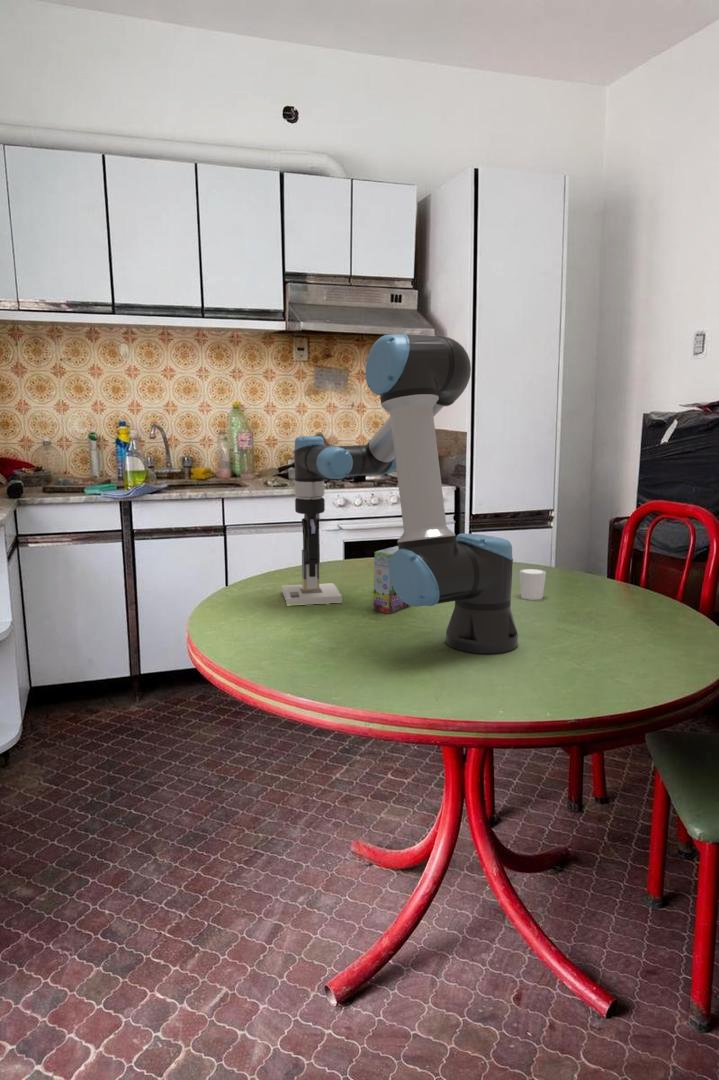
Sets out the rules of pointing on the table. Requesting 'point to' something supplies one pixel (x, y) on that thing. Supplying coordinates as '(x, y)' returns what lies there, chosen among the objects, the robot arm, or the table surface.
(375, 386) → the robot arm
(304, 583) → the plug
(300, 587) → the socket plate
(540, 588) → the white cup
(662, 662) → the table surface
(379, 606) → the snack box
